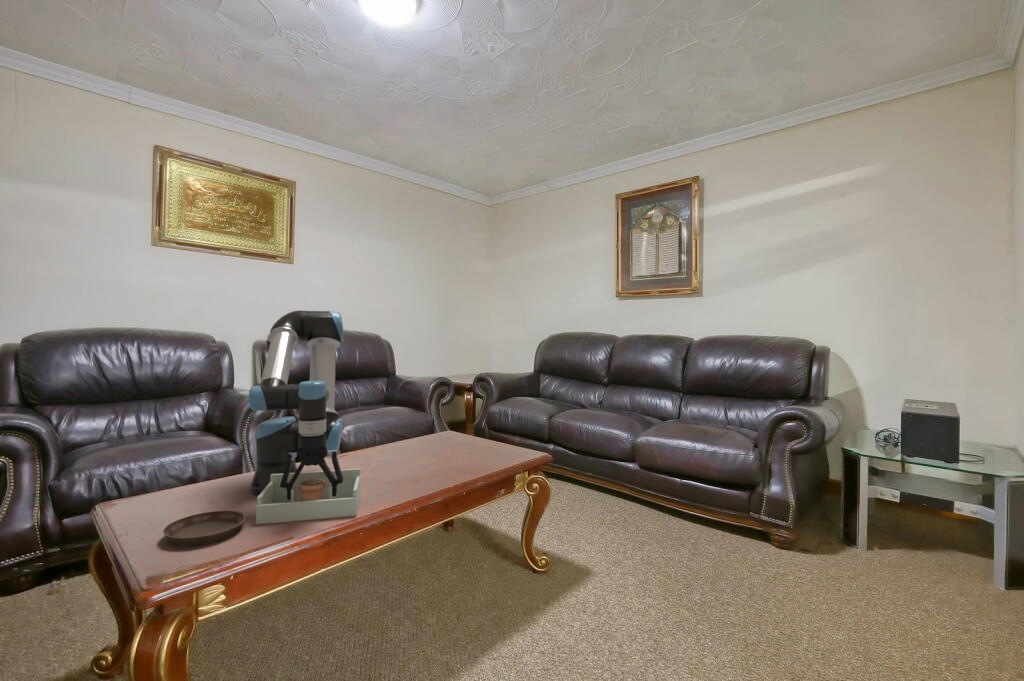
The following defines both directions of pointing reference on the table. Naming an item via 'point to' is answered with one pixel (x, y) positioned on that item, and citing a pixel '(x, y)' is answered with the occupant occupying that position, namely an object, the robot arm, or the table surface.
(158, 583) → the table surface
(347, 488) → the frame
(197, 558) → the table surface
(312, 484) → the terracotta pot
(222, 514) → the plant saucer
